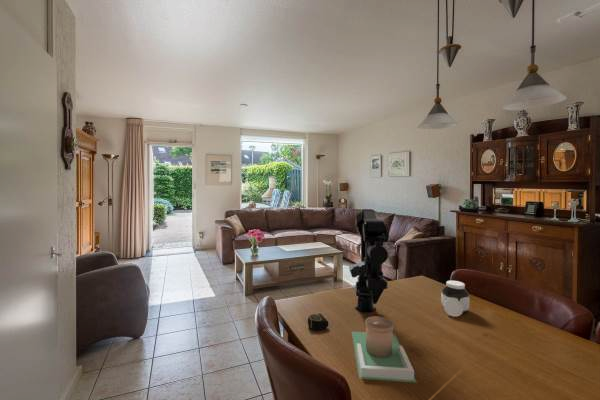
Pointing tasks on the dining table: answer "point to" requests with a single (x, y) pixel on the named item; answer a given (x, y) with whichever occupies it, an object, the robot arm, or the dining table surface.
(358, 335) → the green mat
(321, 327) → the tape measure
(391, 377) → the white rail holder
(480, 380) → the dining table surface
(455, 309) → the spread jar
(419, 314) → the dining table surface
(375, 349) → the terracotta pot
